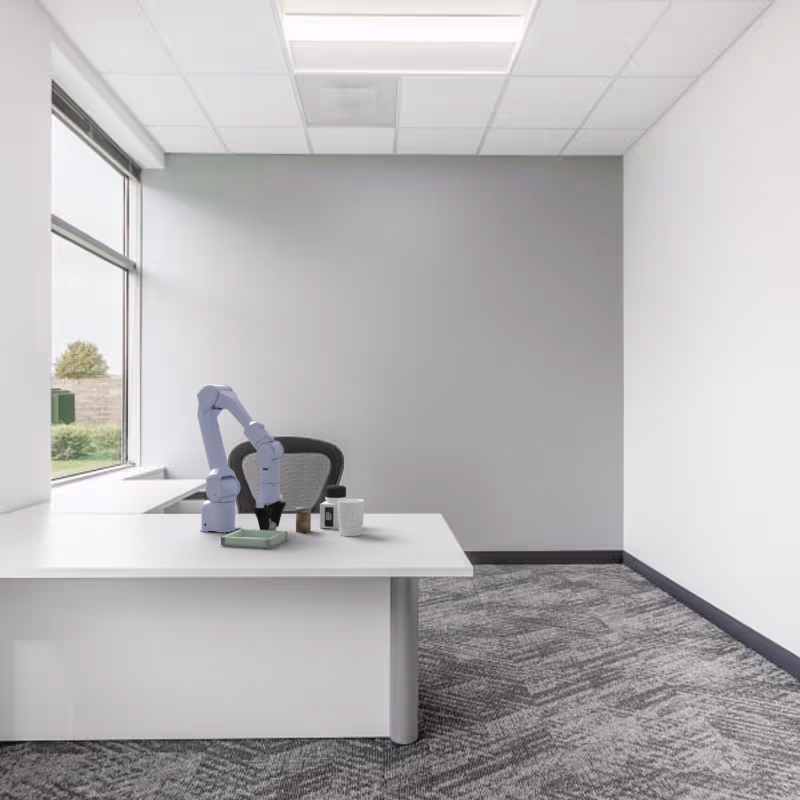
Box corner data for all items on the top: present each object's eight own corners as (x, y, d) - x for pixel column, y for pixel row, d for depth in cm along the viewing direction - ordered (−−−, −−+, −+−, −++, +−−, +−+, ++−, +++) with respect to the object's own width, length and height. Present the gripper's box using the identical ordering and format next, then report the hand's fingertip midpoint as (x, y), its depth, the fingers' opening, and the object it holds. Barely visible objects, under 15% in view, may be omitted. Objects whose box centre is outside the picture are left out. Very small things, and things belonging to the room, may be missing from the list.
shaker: (293, 532, 190) (293, 508, 190) (298, 529, 194) (299, 506, 194) (307, 533, 189) (308, 509, 189) (313, 530, 193) (313, 507, 193)
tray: (220, 546, 171) (220, 537, 171) (241, 537, 182) (241, 528, 182) (269, 548, 168) (269, 539, 168) (287, 539, 179) (287, 531, 179)
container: (343, 529, 195) (344, 487, 195) (319, 528, 196) (320, 486, 197) (350, 525, 202) (351, 484, 203) (327, 524, 204) (327, 483, 204)
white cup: (331, 534, 188) (332, 500, 188) (351, 530, 194) (351, 497, 194) (349, 538, 182) (350, 503, 182) (369, 534, 188) (369, 500, 188)
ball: (260, 535, 185) (260, 521, 186) (266, 532, 189) (266, 519, 189) (273, 535, 185) (273, 522, 185) (278, 533, 189) (278, 519, 189)
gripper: (272, 486, 179) (272, 534, 179) (292, 480, 193) (291, 525, 193) (249, 485, 181) (248, 533, 181) (270, 479, 195) (270, 524, 195)
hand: (269, 529), depth 187 cm, fingers open, 7 cm apart
